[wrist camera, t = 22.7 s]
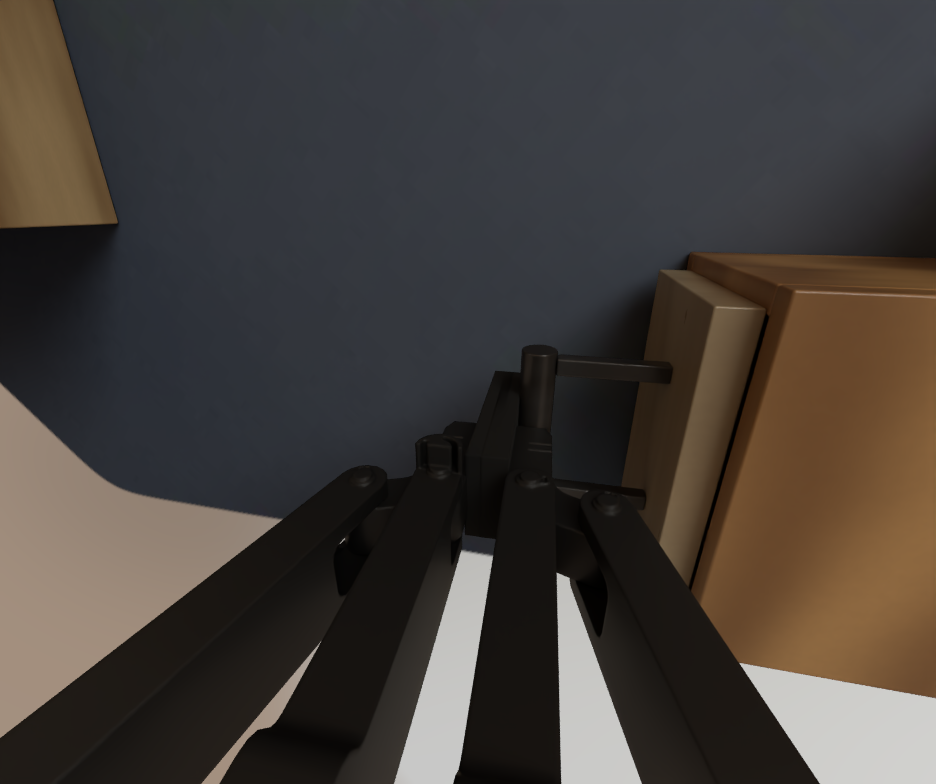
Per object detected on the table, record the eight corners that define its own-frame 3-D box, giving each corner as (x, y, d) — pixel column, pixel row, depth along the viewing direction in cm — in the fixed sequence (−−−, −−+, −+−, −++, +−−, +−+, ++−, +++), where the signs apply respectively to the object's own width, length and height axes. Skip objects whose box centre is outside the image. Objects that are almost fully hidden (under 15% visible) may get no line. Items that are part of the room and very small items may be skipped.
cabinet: (641, 493, 22) (684, 653, 14) (689, 251, 17) (794, 289, 9) (990, 536, 19) (1281, 761, 11) (1158, 263, 14) (1841, 328, 7)
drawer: (520, 479, 22) (503, 587, 16) (533, 265, 18) (518, 297, 11) (950, 531, 18) (1143, 693, 12) (1092, 283, 14) (1485, 340, 8)
